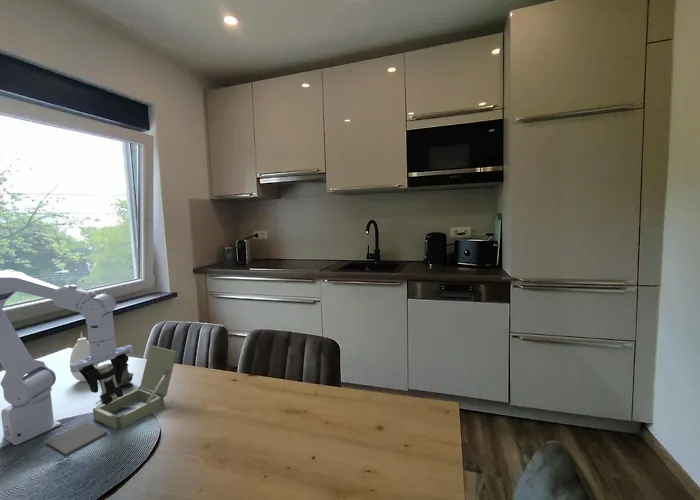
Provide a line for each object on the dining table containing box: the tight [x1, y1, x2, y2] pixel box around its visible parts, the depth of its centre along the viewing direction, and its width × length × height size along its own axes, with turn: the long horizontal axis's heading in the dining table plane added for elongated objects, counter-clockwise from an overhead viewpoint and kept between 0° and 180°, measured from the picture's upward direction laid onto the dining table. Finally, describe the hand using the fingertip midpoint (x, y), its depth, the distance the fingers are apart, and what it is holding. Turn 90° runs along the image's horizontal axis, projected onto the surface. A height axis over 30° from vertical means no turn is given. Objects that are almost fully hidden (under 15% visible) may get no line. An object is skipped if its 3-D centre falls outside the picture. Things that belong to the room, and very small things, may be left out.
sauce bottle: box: [69, 331, 99, 383], centre depth 118 cm, size 8×8×18 cm
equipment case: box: [92, 345, 177, 431], centre depth 99 cm, size 18×12×15 cm, turn 152°
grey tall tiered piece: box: [117, 362, 134, 392], centre depth 112 cm, size 6×6×12 cm
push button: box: [94, 363, 124, 408], centre depth 92 cm, size 7×5×10 cm
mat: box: [45, 421, 108, 456], centre depth 86 cm, size 9×10×1 cm
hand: (106, 386), depth 92 cm, fingers closed on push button, 5 cm apart
